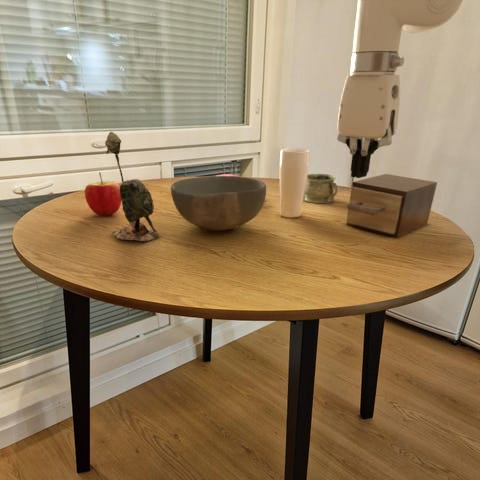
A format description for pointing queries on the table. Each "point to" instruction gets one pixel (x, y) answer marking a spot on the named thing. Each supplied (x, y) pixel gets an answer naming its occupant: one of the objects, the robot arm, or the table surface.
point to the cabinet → (403, 200)
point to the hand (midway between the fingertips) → (358, 176)
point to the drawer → (374, 209)
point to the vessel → (320, 188)
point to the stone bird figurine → (132, 201)
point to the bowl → (218, 200)
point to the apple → (103, 197)
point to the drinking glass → (293, 180)
